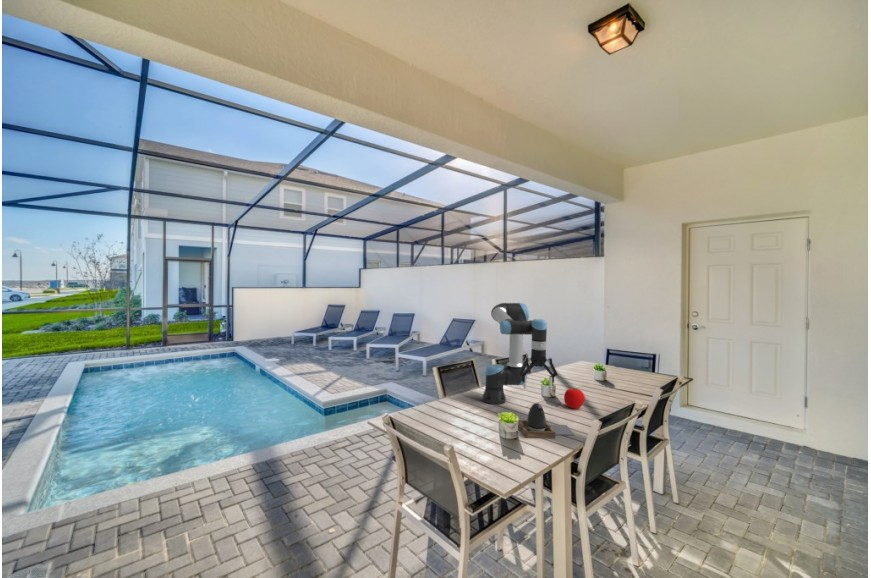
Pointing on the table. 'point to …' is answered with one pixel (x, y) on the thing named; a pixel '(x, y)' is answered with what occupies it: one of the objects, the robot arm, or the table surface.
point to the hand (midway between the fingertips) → (537, 388)
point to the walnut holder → (536, 434)
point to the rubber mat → (562, 430)
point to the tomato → (574, 398)
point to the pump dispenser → (536, 418)
